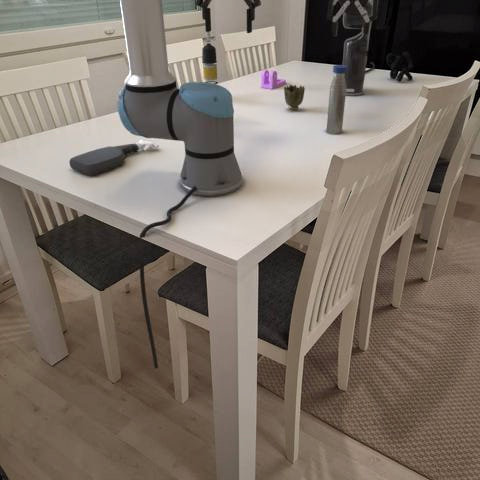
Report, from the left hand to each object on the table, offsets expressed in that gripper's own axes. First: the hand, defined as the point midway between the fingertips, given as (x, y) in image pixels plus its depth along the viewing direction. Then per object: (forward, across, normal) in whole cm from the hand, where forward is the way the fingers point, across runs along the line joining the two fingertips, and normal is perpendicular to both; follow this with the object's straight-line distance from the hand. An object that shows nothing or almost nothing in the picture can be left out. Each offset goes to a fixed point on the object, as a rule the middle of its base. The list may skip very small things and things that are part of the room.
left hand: (228, 32), depth 139 cm
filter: (+28, +18, -25) cm, 42 cm away
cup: (+28, -17, -19) cm, 38 cm away
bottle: (+28, -36, +1) cm, 45 cm away
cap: (+8, -36, +1) cm, 37 cm away
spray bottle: (+28, +18, +43) cm, 54 cm away
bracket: (+28, 0, -54) cm, 61 cm away
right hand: (+1, -36, -6) cm, 37 cm away
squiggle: (+28, -52, -78) cm, 98 cm away
